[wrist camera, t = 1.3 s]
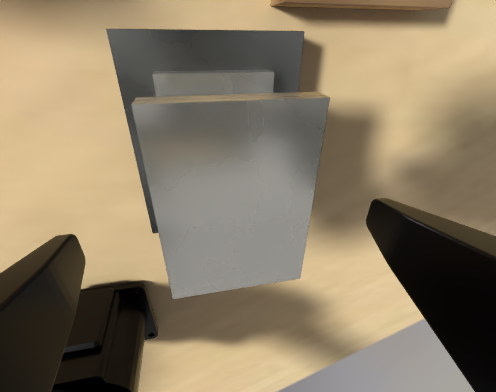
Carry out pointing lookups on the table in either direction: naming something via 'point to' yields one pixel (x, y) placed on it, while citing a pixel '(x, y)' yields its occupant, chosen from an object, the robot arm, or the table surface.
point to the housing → (230, 176)
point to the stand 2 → (367, 4)
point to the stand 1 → (197, 65)
